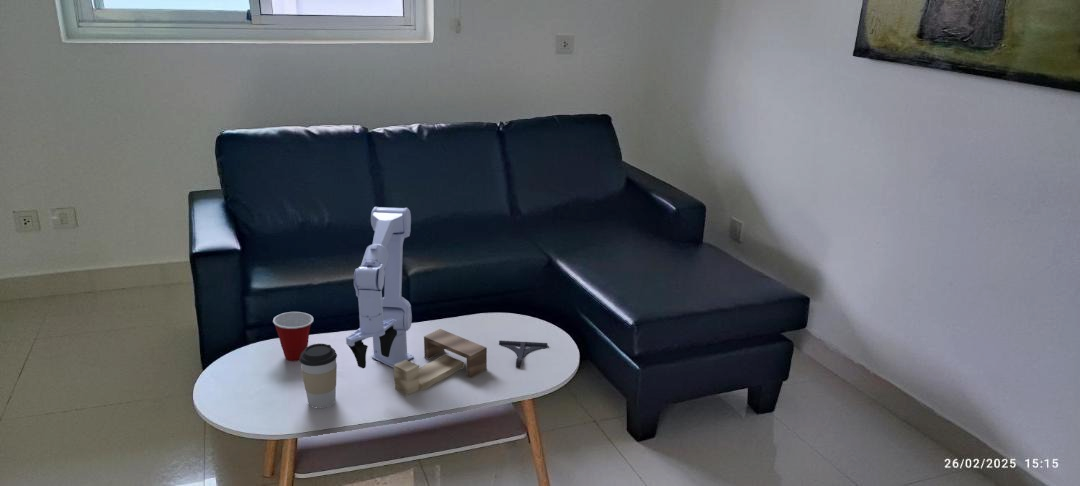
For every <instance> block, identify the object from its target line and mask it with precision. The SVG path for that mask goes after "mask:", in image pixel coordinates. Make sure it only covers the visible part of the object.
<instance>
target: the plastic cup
mask: <svg viewBox="0 0 1080 486" xmlns="http://www.w3.org/2000/svg"><path fill="white" fill-rule="evenodd" d="M272 323H273V324H274V326H275V330H276V332H277V336H278V340H279V342H280V346H281V350H282V351H283V355H284V358H285V360H287V361H290V362H298V360H299V358H300V355H301V353H302V352H303V351H304V350H305V348H306V347H308V346H309V339H310V338H309V337H310V331H311V325H312V324H313V323H314V317H313V315H311V314H309V313H306V312H301V311H289V312H283V313H280V314H278V315H276V316H274V317H273V320H272Z"/></svg>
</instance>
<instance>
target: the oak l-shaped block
mask: <svg viewBox="0 0 1080 486" xmlns="http://www.w3.org/2000/svg"><path fill="white" fill-rule="evenodd" d="M464 364H465V362H464V361H463V360H460V359H457V358H455V357H454V356H450V355H449V354H444V355H442V356H440V357H438V358H436V359H433V360H432V361H430V362H428V363H425V364H424V365H422V366H420V367H419V365H418V364H415V363H413V362H411V361H410V360H408V361H407V360H404V361H402V362H400V363H398V364H395V365H394V367H393V372H394V375H393V376H394V377H393V378H394V389H395V390H397V391H399V392H401V393H402V394H405V395H407V396H409V395H411V394H412V393H415V392H417V391H418V390H420V391H423V390H425V389H427V388H429V387H430V386H433V385H434V384H437V383H438V382H440V381H442V380H444V379H445V378H447V377H450V376H452V375H453V374H454V373H457V372H458V371H460V370H462V369H464V368H465V365H464Z"/></svg>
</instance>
